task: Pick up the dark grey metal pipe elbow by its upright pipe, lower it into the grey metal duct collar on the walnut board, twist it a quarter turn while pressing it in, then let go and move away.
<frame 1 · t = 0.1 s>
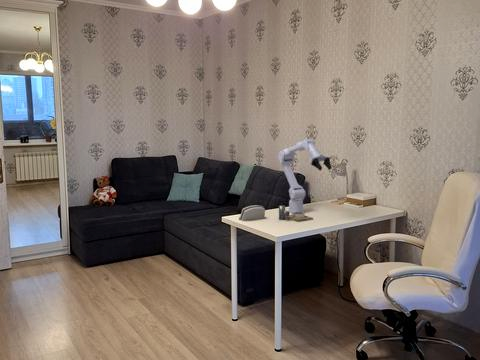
hand: (325, 169, 261), 32 cm above the table, tool tilted 50°, fingers open, 7 cm apart
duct: (298, 218, 270), on the table
elbow: (282, 219, 269), on the table
grey napkin holder: (252, 219, 271), on the table
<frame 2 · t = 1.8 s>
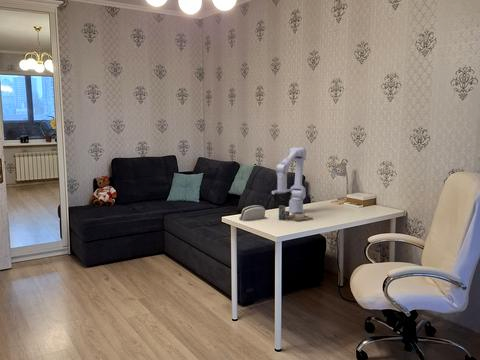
hand: (282, 204, 267), 10 cm above the table, tool pointing down, fingers open, 7 cm apart
nothing on the table moved.
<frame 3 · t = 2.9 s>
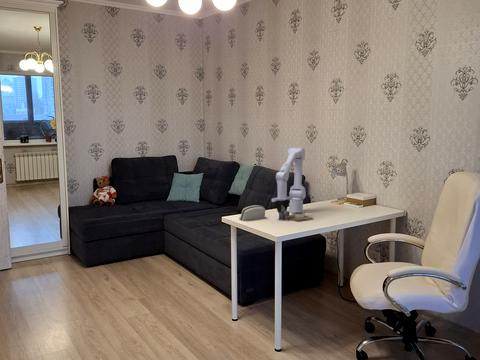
hand: (282, 212, 268), 5 cm above the table, tool pointing down, fingers closed on elbow, 4 cm apart
elbow: (282, 219, 269), on the table, touching gripper
everything else where it was.
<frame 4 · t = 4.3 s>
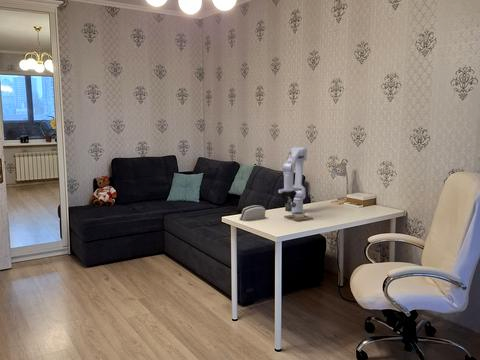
hand: (288, 203, 268), 10 cm above the table, tool pointing down, fingers closed on elbow, 4 cm apart
elbow: (288, 210, 269), point 5 cm above the table, touching gripper
everything else where it was.
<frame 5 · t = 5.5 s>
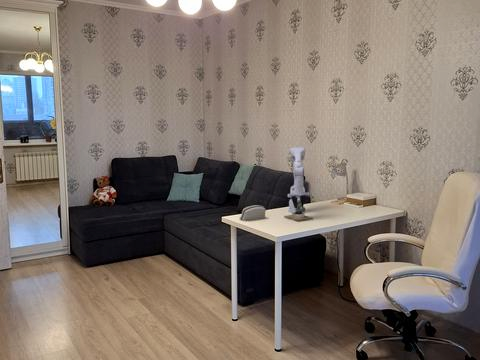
hand: (298, 207, 269), 7 cm above the table, tool pointing down, fingers closed on elbow, 4 cm apart
elbow: (298, 214, 270), point 2 cm above the table, touching gripper
everything else where it was.
when the fingers open (6 cm above the table, at t = 6.1 s): elbow stays where it is, resting on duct.
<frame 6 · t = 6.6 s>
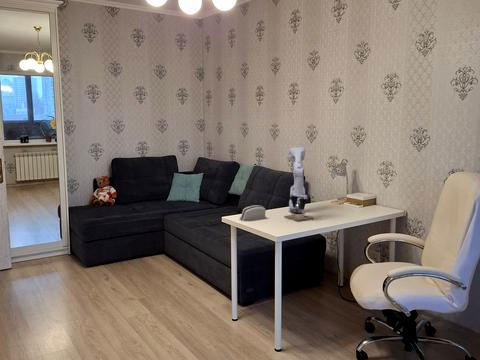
hand: (298, 208, 270), 7 cm above the table, tool pointing down, fingers open, 7 cm apart
elbow: (298, 216, 270), point 1 cm above the table, touching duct
everything else where it was.
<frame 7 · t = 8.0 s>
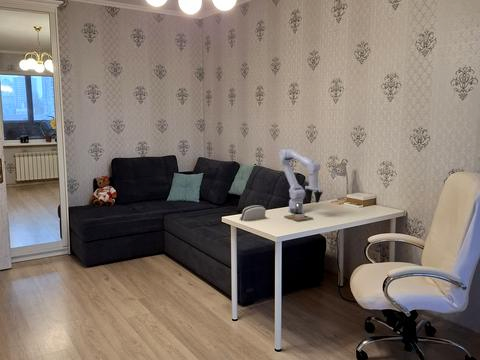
hand: (313, 201, 277), 9 cm above the table, tool pointing down, fingers open, 7 cm apart
nothing on the table moved.
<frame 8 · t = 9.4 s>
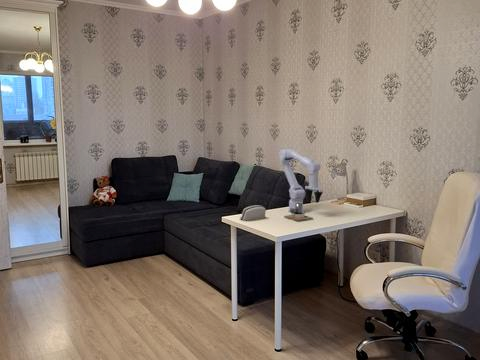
hand: (313, 201, 277), 9 cm above the table, tool pointing down, fingers open, 7 cm apart
nothing on the table moved.
at the end: elbow 0.0 cm off-centre on the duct, point 1.0 cm above the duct's base; elbow tilted 0°; the gripper is holding nothing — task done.
